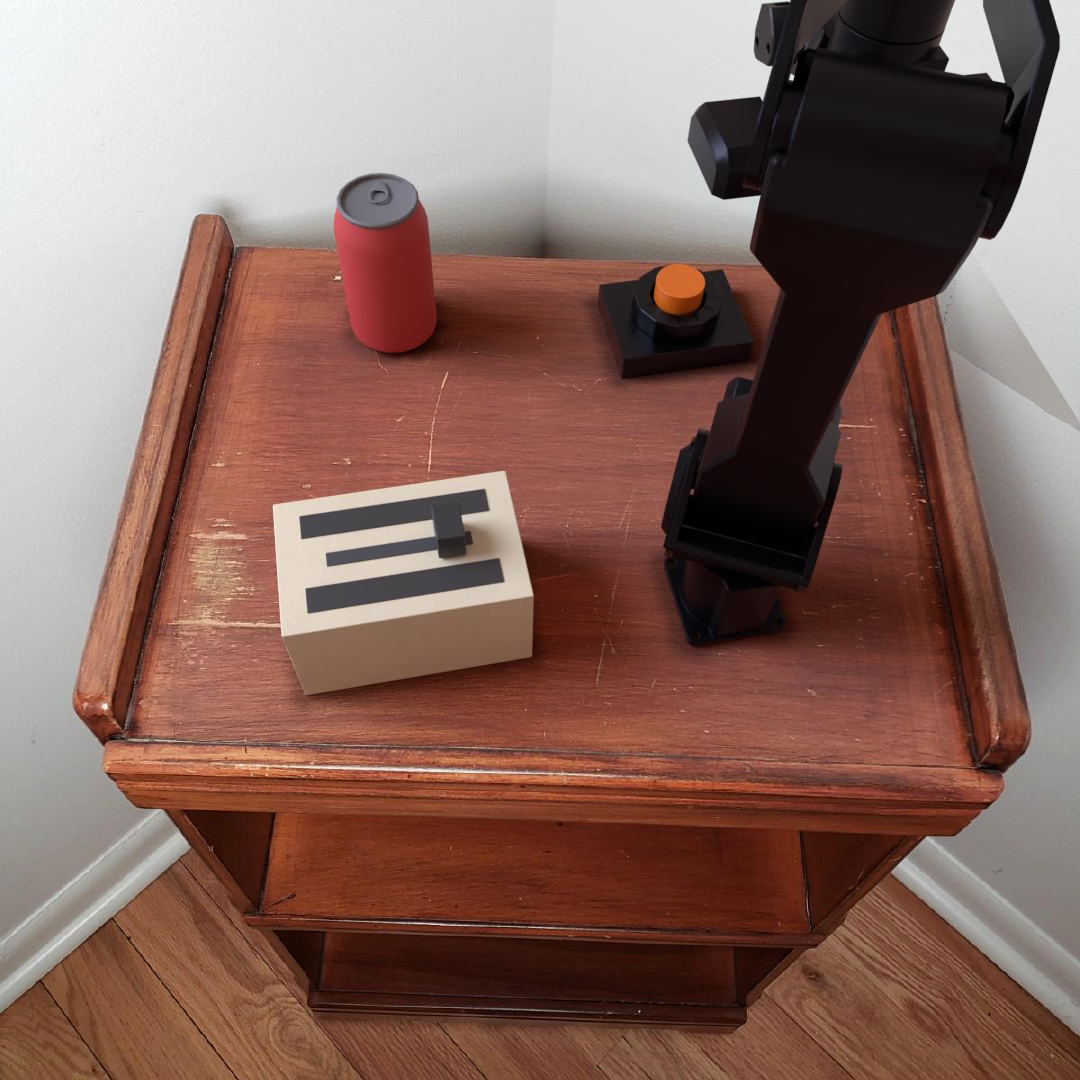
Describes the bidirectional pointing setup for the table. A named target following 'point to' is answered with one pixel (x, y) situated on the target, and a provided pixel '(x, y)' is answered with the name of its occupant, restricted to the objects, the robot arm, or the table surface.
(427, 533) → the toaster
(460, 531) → the slider
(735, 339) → the control block
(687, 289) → the button
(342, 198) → the beer can
